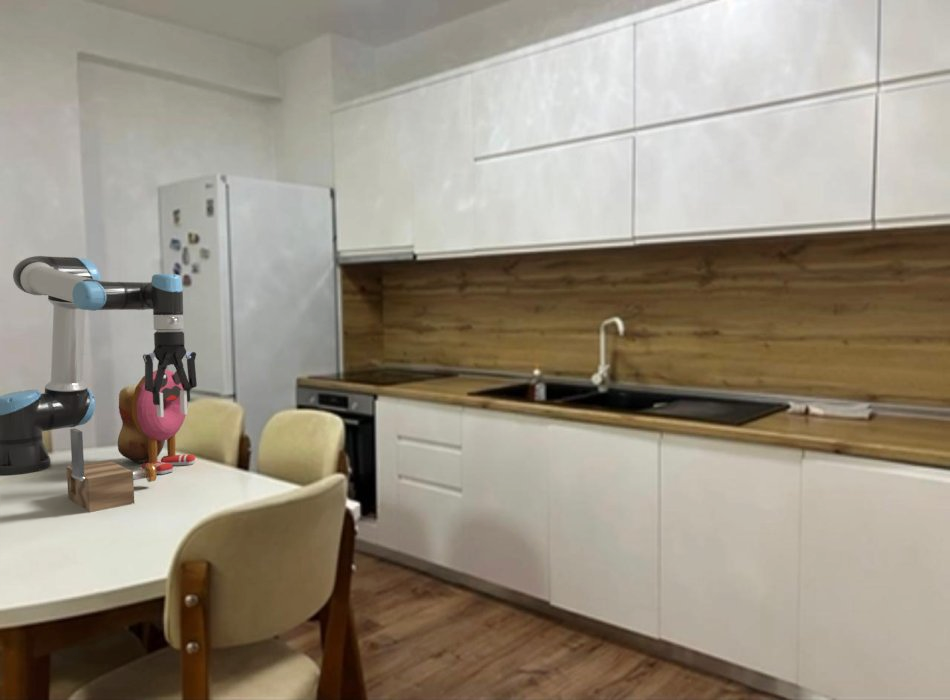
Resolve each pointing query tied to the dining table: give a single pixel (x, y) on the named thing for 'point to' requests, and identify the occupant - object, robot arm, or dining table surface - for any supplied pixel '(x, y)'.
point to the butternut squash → (132, 431)
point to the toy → (161, 421)
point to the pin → (145, 473)
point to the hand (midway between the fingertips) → (172, 414)
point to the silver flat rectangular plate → (77, 454)
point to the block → (102, 486)
